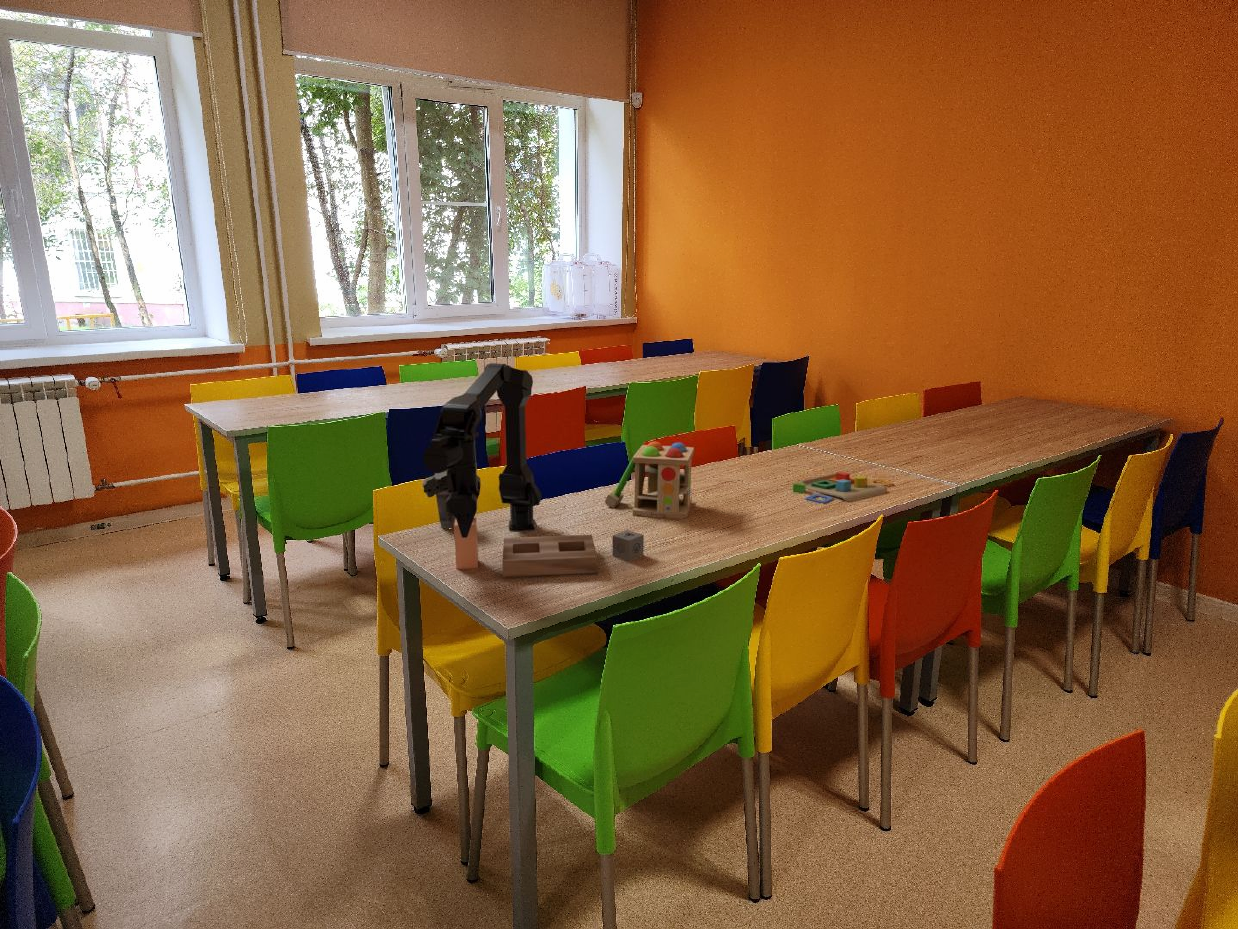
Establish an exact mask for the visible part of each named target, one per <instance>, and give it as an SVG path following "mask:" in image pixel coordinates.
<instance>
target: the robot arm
mask: <svg viewBox="0 0 1238 929" xmlns="http://www.w3.org/2000/svg"><path fill="white" fill-rule="evenodd" d="M533 385H534V380H533V376H532V375H531V374H530V372H529V370H526V369H525V370H524V369H518V368H515V367H513V366H511V365H509V364H506V363H497V362H495V363H494V362H493V363H492V362H490V363H488V364H486V365H485V366H484V371H482V372H481V374H480V375H479V376H478V377H477V379H475V381H474V382H473V383H472V384H471V386H469V387H468V389H467V390H466V391H465V392H463V394H461V395H458V396H456V397H452V398H451V399H450V400H448V401H447V402H446V403H445V404H444V405H443V406H442V408H441V409H440V413H439V414H438V415H439V416H438V419H437V422H436V425H435V429H434V431H433V434H432V436H433V438H432V439H430V446H428V447H426V449H425V451H424V453H423V456H422V458H423V463H424V465H425V467H426V469H428V471H430V472H431V473H434V475H432V476H429V477H427V478H424V479H423V481H422V483H421V485H422V488H423V492H424V493H425V495H426V496H427V498H432V497H434V496H436V494H438V493H441V492H443V491H446V490H447V489H448V493H452V494H451V495H450V496H449V497H448V498H447V500H446V512H448V513H449V514H452V515H453V516H455V518H456V520H457V523H458V526H459V530H460V533H461V536H462V538H467V536H468V533H469V531H470V528H471V525H472V522H473V519H474V518H476V517H475V516H476V514H477V511H478V499H479V496H480V493H481V485H482V484H481V477H480V476H479V475H478V474H477V469H478V462H477V458H476V457H477V455H476V454H477V453H476V438H478V437H479V436H480V433H479V432H478V431H477V430H476V429H477V427H478V426H479V423H480V422H481V421H482V418H483V414H482V410H483V408H484V407H485V406H486V405H487V403H488V402H489V401H490V399H492V397H493V396H494V395H495V393H496V396H497V398H498V399H499V401H500V403H501V404H502V406H503V408H504V427H505V428H504V429H505V430H504V432H505V433H504V434H505V460H506V461H505V462H506V464H505V468H504V469H503V471H502V472H501V473H500V474H498V483H499V484H498V492H499V495H500V496H499V497H500V500H501V503H502V504H507V505H509V512H510V513H509V514H510V515H509V516H510V520H508V521H509V522H508V530H509V531H520V530H521V531H525V530H526V531H527V530H535V529H536V520H535V519H534V507H535V506H539V505H540V503H541V501H542V492H541V491H540V490H539V488H538V486H537V485H536V484H535V477H534V473H533V472H532V470H531V469H530V467H529V465H528V464H527V438H526V437H527V436H526V434H527V433H526V405H527V403H528V402H529V400H530V398H531V396H532V389H533ZM445 470H447V471H445ZM443 471H445V472H443ZM441 472H442V473H441ZM435 473H439V474H437V475H435Z"/></svg>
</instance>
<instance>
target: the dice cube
mask: <svg viewBox="0 0 1238 929" xmlns="http://www.w3.org/2000/svg"><path fill="white" fill-rule="evenodd" d="M644 537H645V536H644V534H643V533H638V532H635V531H632V530H629V529H626V530H624V531H621V532H618V533H615V534H612V544H611V546H612V557H615V558H618V559H620V558H622V559H621V560H623V559H624V561H626V560H627V561H626V562H631V561H634V560H636V559H639V558H640V556H641V557H643V556H644V548H645V546H644V544H645V543H644V542H645V541H644ZM642 555H643V556H642ZM635 558H636V559H635ZM633 559H634V560H633Z"/></svg>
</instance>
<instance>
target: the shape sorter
mask: <svg viewBox="0 0 1238 929" xmlns="http://www.w3.org/2000/svg"><path fill="white" fill-rule="evenodd" d="M850 476H851V474H850V473H848V472H843V471H838V472H836V473H831V474H826V475H822V476H818V477H814V478H813V477H812V478H808V479H804V480H801V481H800V482H796V483H793V484H792V493H796V492H798V493H797V494H803V493H804V495H805V494H806V490H807V489H808V490H807V491H811V492H814V491H816V492H815V493H813V494H812V495H809V496H807V497H805V498H804V500H805V501H808V502H813V503H816V504H821V503H823V504H822V505H824V504H825V505H826V504H827V503H830V502H832V501H834V500H835V498H840V499H843V500H844V501H845V502H847V503H852V502H856V501H861V500H865V499H868V497H869V498H872V497H877V496H880V494H881V495H884V493H885V494H887V493H888V489H887V488H888V487H889V486H888V485H894V486H895V483H893V482H891V481H888V480H886V479H885V478H884V479H883V478H876V479H869V480H868V477H867V476H866V475H856V476H854V478H852V477H850ZM876 481H881V482H884V483H881V482H880V483H877V482H876ZM874 482H875V483H874ZM885 483H886V484H885ZM885 486H888V487H885ZM818 492H819V493H818ZM817 493H818V494H817ZM815 497H816V498H815ZM819 497H822V498H821V499H822V500H821V499H817V498H819ZM834 497H835V498H834ZM813 498H814V499H813ZM823 498H825V499H823Z"/></svg>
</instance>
